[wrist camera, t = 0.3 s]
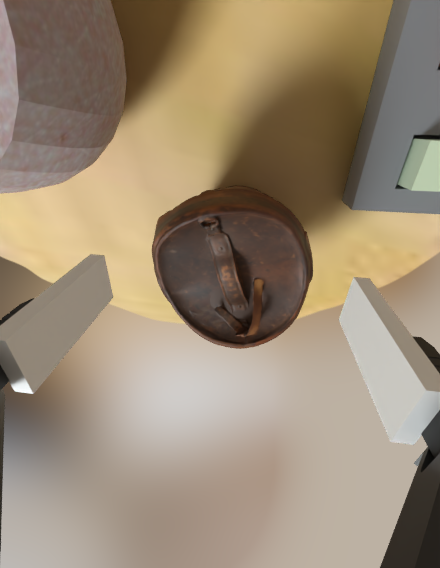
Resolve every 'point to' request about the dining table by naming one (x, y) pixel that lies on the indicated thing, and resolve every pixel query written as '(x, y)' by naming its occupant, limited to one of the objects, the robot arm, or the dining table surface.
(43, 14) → the plant pot
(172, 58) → the dining table surface
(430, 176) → the sage button
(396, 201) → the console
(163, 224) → the brown tapered container
